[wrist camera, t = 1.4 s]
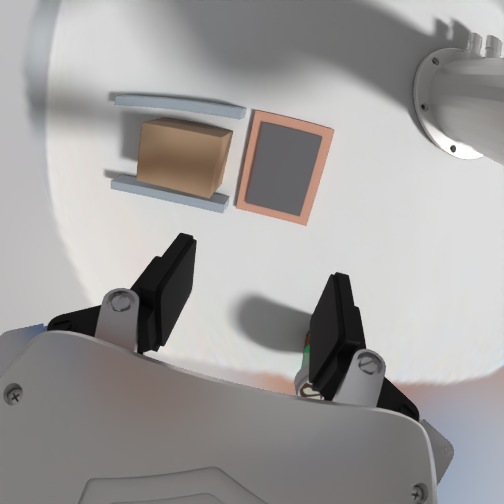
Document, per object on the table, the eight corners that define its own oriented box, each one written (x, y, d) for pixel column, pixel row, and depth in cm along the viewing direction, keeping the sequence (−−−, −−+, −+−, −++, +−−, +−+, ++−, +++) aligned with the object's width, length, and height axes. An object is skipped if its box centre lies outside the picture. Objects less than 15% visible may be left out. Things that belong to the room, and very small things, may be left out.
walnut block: (164, 117, 28) (142, 123, 24) (233, 130, 28) (221, 137, 24) (157, 167, 31) (136, 180, 27) (222, 182, 31) (209, 198, 27)
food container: (282, 325, 40) (275, 383, 32) (321, 311, 38) (322, 370, 30) (317, 370, 45) (315, 421, 36) (350, 360, 42) (354, 412, 34)
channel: (127, 94, 27) (115, 96, 25) (246, 108, 26) (241, 109, 24) (121, 181, 32) (110, 188, 30) (228, 204, 32) (222, 213, 30)
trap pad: (256, 110, 26) (255, 110, 26) (333, 129, 26) (334, 130, 25) (236, 206, 32) (235, 209, 31) (306, 224, 32) (306, 226, 31)
